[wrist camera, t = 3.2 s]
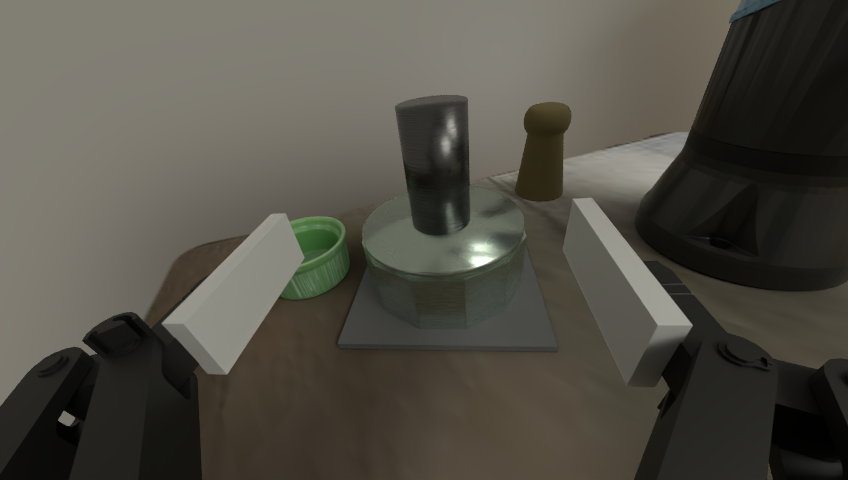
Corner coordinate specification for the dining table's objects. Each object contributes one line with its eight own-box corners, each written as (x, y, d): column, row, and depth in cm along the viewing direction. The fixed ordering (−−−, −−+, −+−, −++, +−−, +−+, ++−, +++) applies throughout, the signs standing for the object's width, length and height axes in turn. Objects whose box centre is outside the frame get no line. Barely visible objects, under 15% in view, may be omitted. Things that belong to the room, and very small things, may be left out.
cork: (560, 181, 42) (575, 96, 36) (564, 202, 37) (581, 108, 31) (516, 180, 44) (522, 99, 38) (514, 200, 39) (520, 111, 33)
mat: (518, 227, 34) (519, 223, 34) (556, 352, 21) (558, 346, 21) (382, 233, 36) (381, 228, 36) (339, 348, 23) (337, 343, 23)
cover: (508, 230, 33) (517, 78, 24) (532, 329, 22) (565, 118, 13) (390, 234, 34) (361, 94, 26) (359, 328, 24) (293, 141, 15)
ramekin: (371, 255, 33) (362, 221, 30) (318, 316, 26) (301, 279, 24) (309, 242, 36) (296, 211, 34) (248, 294, 30) (226, 259, 27)
